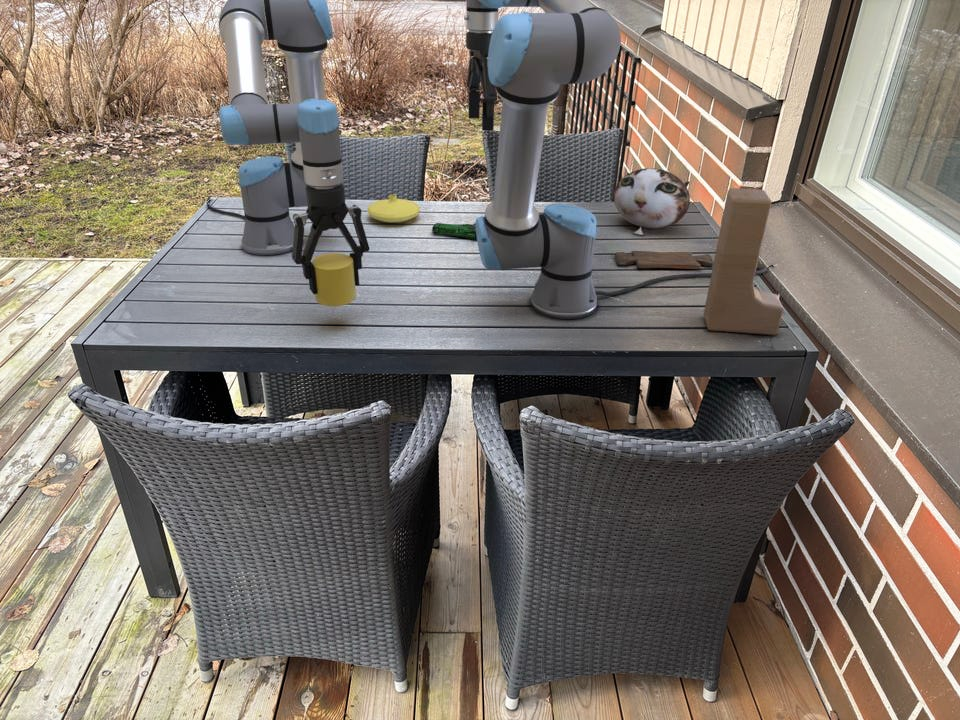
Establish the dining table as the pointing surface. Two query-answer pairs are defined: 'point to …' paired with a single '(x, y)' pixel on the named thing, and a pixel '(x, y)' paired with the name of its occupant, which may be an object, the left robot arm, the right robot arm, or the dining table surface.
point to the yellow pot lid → (393, 210)
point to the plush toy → (651, 198)
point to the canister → (334, 279)
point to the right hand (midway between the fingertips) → (480, 124)
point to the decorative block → (741, 269)
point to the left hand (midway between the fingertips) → (334, 287)
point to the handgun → (456, 230)
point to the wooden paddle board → (663, 259)
